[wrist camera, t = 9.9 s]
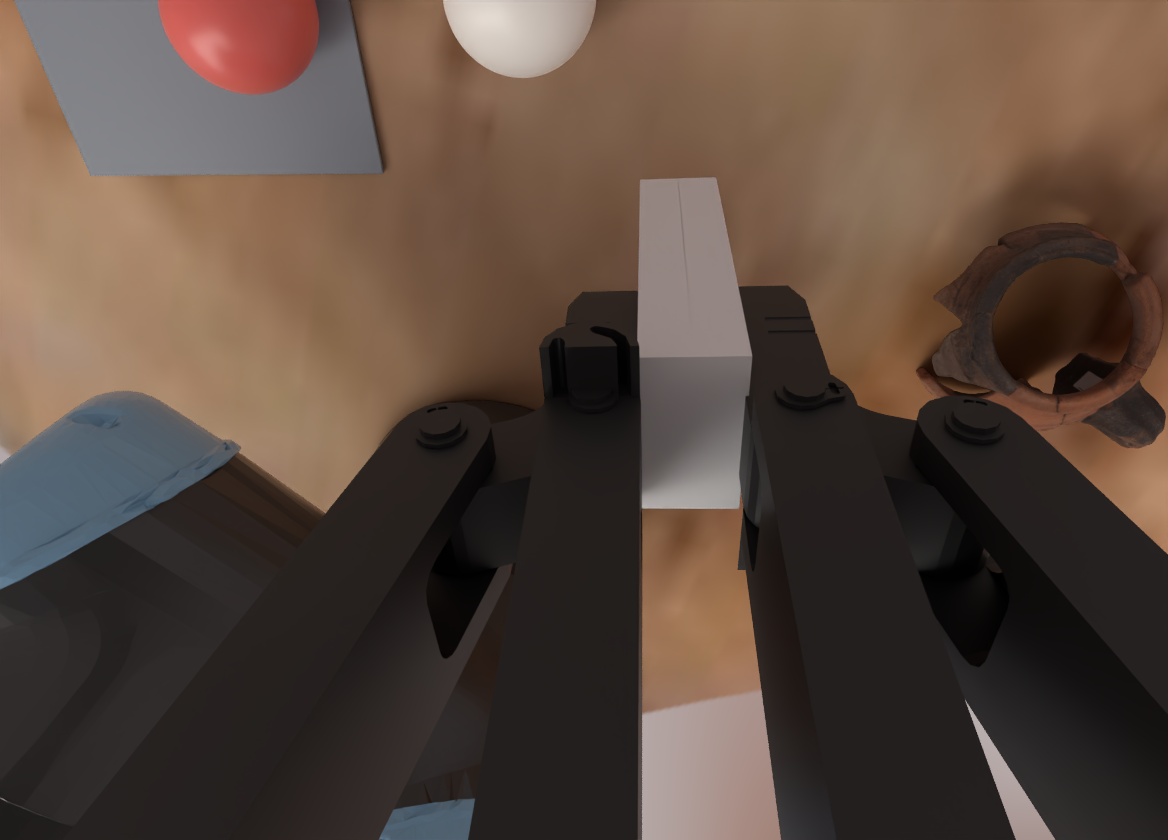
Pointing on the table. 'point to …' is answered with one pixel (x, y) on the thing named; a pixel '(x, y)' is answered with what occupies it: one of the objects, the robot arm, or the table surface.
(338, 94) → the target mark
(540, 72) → the cue ball
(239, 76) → the red ball
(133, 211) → the table surface
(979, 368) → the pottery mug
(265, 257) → the table surface
